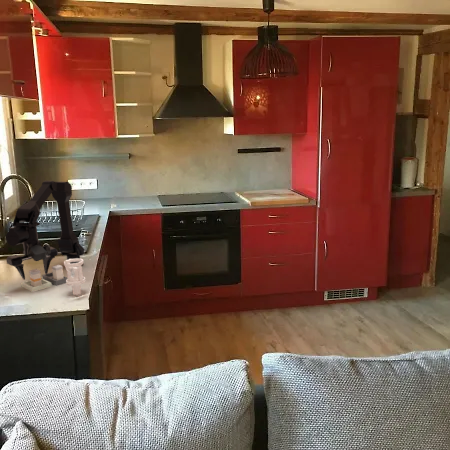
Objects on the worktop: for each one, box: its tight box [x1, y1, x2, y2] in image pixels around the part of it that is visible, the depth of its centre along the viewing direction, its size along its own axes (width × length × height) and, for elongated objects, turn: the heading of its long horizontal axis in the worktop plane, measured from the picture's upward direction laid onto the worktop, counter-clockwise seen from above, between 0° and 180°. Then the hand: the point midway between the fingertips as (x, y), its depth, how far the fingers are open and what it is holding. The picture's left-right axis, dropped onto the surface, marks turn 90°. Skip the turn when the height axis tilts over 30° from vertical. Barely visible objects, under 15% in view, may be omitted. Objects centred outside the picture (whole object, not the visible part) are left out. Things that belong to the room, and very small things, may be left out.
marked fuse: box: [28, 268, 43, 287], centre depth 201 cm, size 4×3×7 cm
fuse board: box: [41, 271, 68, 287], centre depth 207 cm, size 12×5×3 cm, turn 45°
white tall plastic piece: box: [63, 258, 86, 298], centre depth 190 cm, size 7×7×15 cm
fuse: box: [51, 264, 65, 280], centre depth 204 cm, size 4×3×7 cm
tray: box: [20, 277, 53, 293], centre depth 201 cm, size 10×8×2 cm
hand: (35, 276), depth 200 cm, fingers open, 9 cm apart
